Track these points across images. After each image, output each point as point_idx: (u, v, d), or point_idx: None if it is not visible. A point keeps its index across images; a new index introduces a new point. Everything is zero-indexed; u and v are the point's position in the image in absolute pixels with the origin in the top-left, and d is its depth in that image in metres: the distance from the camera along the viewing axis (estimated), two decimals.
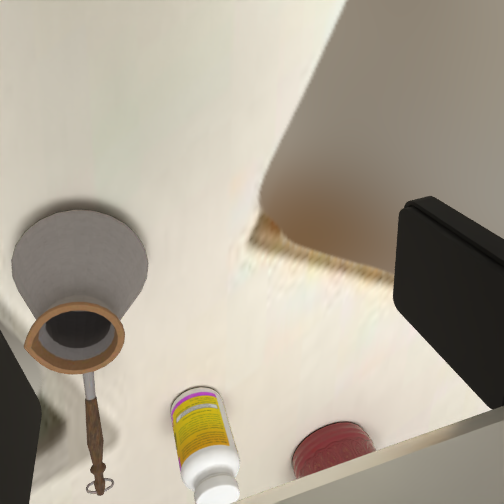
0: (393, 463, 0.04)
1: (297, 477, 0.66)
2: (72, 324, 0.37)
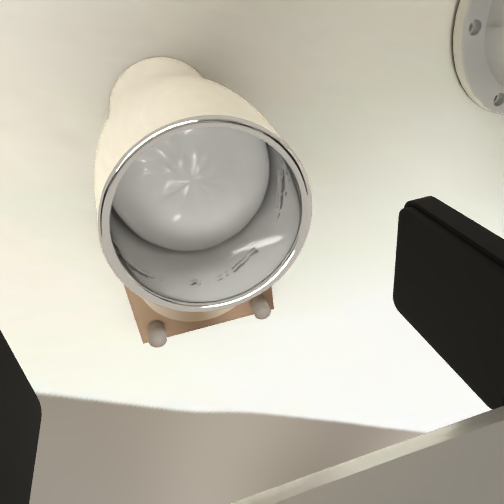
0: (393, 463, 0.04)
1: None
2: None
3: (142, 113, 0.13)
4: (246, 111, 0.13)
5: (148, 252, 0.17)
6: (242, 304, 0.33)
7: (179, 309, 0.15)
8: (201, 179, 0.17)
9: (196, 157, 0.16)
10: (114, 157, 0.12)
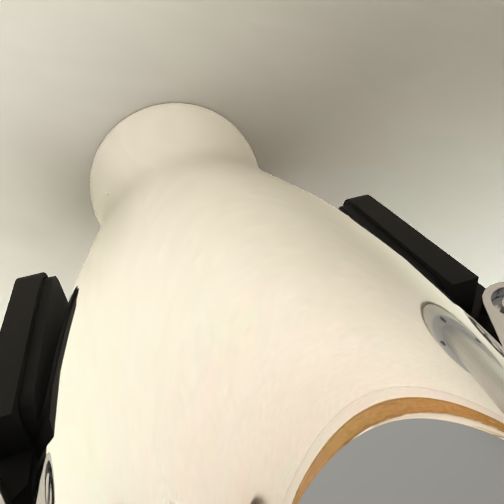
0: None
1: None
2: None
3: (178, 445, 0.04)
4: None
5: None
6: None
7: None
8: None
9: None
10: None
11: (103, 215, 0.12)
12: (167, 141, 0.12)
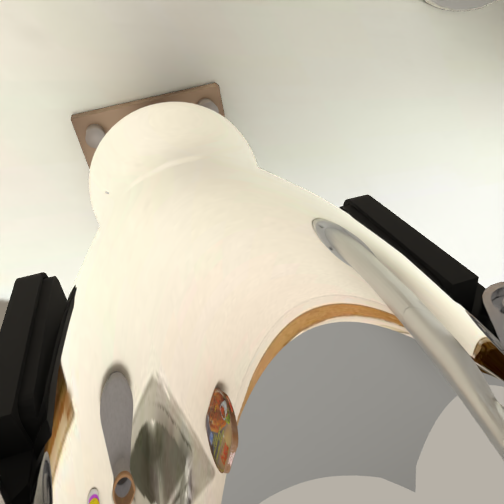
0: None
1: None
2: None
3: (177, 441, 0.04)
4: None
5: None
6: None
7: None
8: None
9: None
10: None
11: (102, 214, 0.12)
12: (166, 140, 0.12)
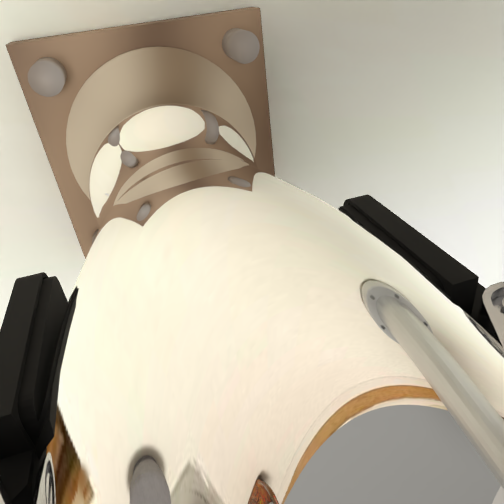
0: None
1: None
2: None
3: (178, 445, 0.04)
4: None
5: None
6: None
7: None
8: None
9: None
10: None
11: (102, 215, 0.12)
12: (166, 141, 0.12)
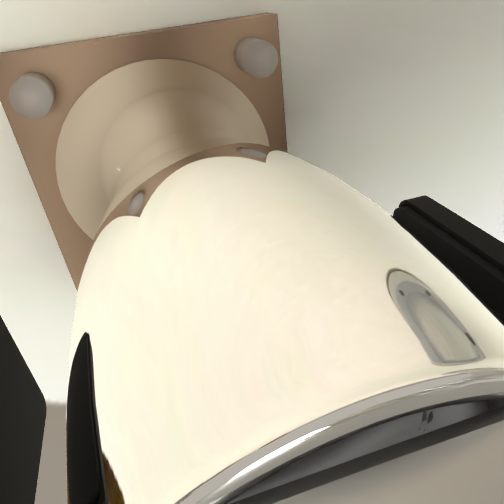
0: (393, 463, 0.04)
1: None
2: None
3: (191, 308, 0.05)
4: (462, 293, 0.05)
5: None
6: None
7: None
8: None
9: None
10: (117, 478, 0.04)
11: (114, 188, 0.13)
12: (172, 121, 0.14)
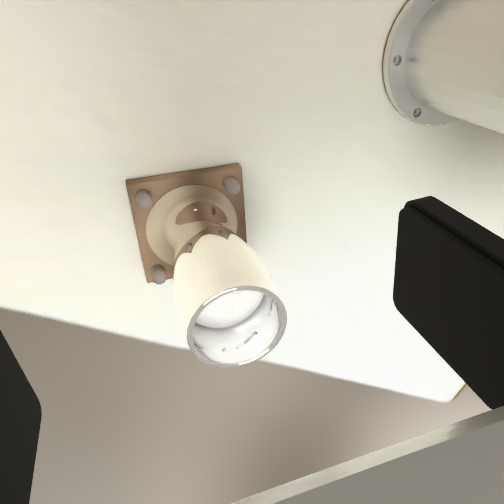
0: (393, 463, 0.04)
1: None
2: None
3: (208, 276, 0.28)
4: (257, 276, 0.28)
5: (198, 331, 0.32)
6: None
7: (218, 367, 0.29)
8: (229, 294, 0.31)
9: None
10: (197, 300, 0.27)
11: (175, 238, 0.36)
12: (198, 215, 0.36)
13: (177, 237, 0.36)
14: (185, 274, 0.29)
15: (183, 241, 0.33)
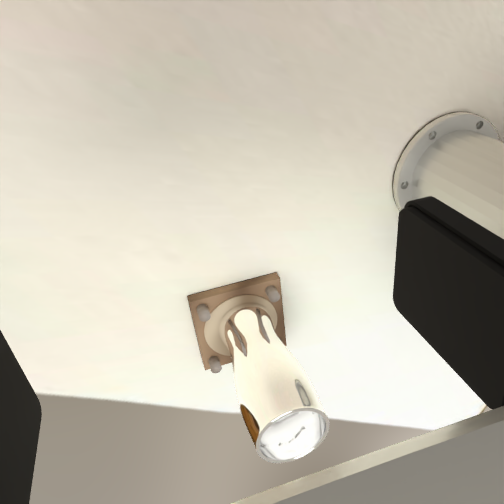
0: (393, 463, 0.04)
1: None
2: None
3: (269, 398, 0.36)
4: (306, 396, 0.37)
5: None
6: None
7: (278, 462, 0.38)
8: None
9: None
10: (262, 419, 0.36)
11: (231, 345, 0.45)
12: (248, 324, 0.45)
13: (233, 345, 0.44)
14: (248, 392, 0.38)
15: (241, 354, 0.42)
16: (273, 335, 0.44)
